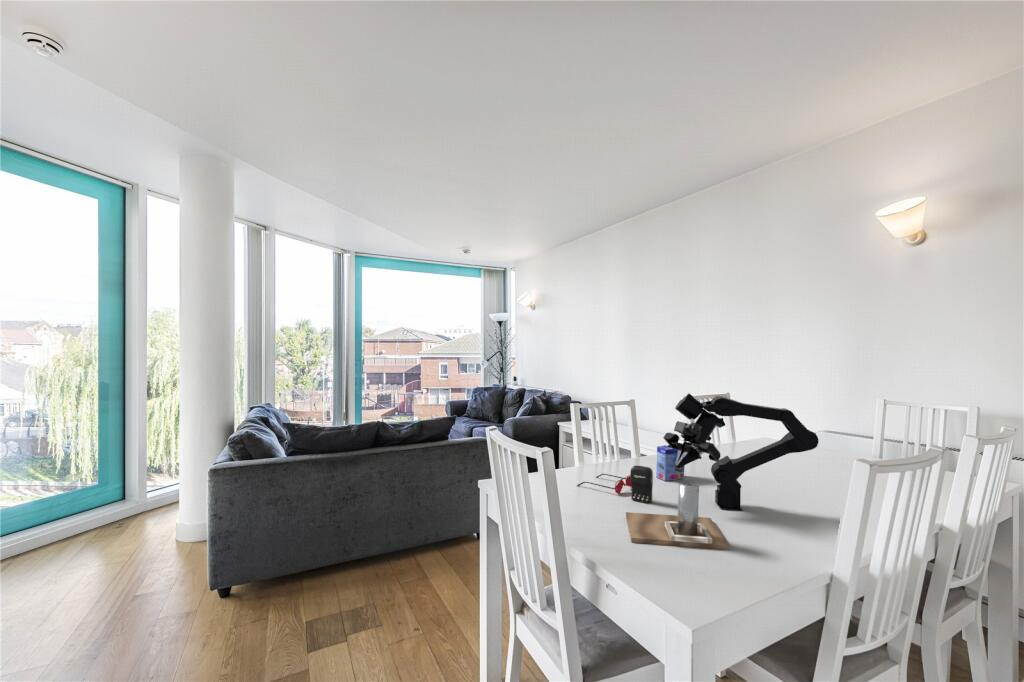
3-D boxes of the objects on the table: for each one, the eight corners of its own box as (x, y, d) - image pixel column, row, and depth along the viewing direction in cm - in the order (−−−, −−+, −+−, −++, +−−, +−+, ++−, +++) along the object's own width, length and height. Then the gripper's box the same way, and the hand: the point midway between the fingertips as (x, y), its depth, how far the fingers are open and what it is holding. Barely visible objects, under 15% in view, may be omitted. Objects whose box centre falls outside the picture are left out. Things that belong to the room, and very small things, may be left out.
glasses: (617, 497, 155) (617, 482, 155) (576, 487, 166) (576, 473, 166) (635, 487, 166) (635, 473, 166) (595, 478, 177) (595, 465, 177)
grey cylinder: (690, 529, 126) (691, 481, 126) (701, 537, 121) (702, 487, 121) (673, 530, 124) (675, 482, 124) (684, 538, 120) (686, 488, 120)
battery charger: (628, 500, 151) (629, 466, 151) (632, 497, 154) (632, 463, 154) (649, 505, 147) (650, 469, 147) (653, 501, 150) (653, 466, 150)
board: (710, 521, 134) (710, 513, 134) (728, 549, 116) (728, 540, 116) (625, 516, 138) (625, 508, 138) (631, 542, 120) (631, 533, 120)
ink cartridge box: (665, 481, 171) (666, 443, 171) (655, 477, 176) (655, 440, 176) (685, 478, 175) (685, 440, 175) (674, 474, 180) (675, 438, 180)
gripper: (667, 408, 153) (641, 444, 148) (714, 416, 136) (686, 458, 131) (685, 429, 156) (660, 465, 152) (732, 440, 139) (706, 481, 135)
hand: (676, 467), depth 142 cm, fingers closed
